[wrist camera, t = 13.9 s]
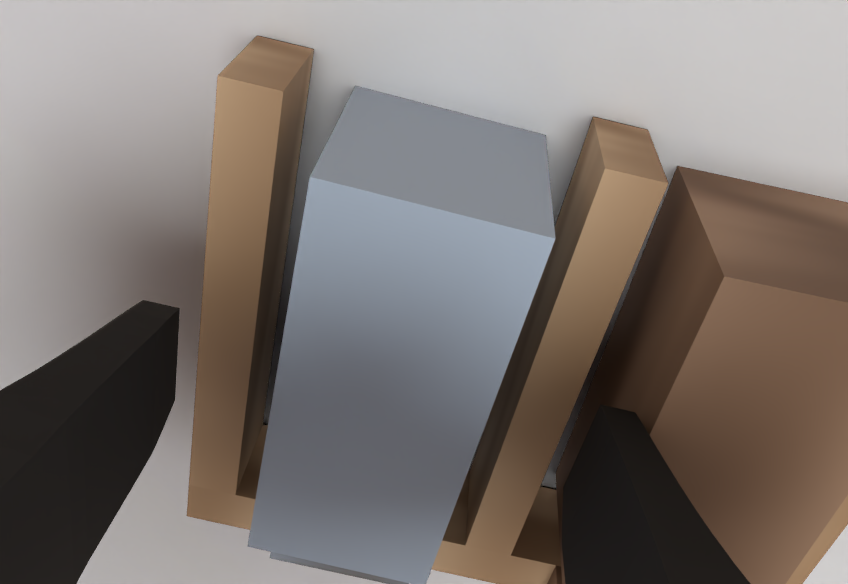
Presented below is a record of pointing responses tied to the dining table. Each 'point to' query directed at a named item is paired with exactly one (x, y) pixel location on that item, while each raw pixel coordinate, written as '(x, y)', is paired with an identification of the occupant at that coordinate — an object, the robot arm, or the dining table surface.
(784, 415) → the walnut block
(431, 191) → the slate stick
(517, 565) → the rack
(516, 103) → the dining table surface
